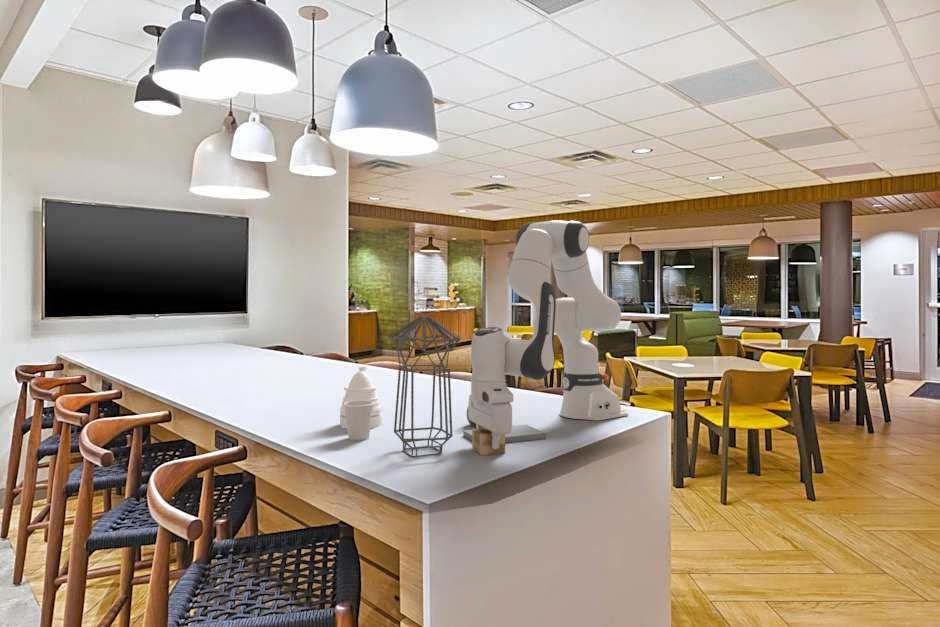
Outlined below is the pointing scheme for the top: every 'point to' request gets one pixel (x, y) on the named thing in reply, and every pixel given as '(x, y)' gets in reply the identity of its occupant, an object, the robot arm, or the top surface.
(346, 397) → the honey pot
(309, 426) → the top surface
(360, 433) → the dixie cup
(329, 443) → the top surface
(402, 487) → the top surface
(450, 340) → the geometric lantern
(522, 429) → the board
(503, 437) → the brown hollow square block
